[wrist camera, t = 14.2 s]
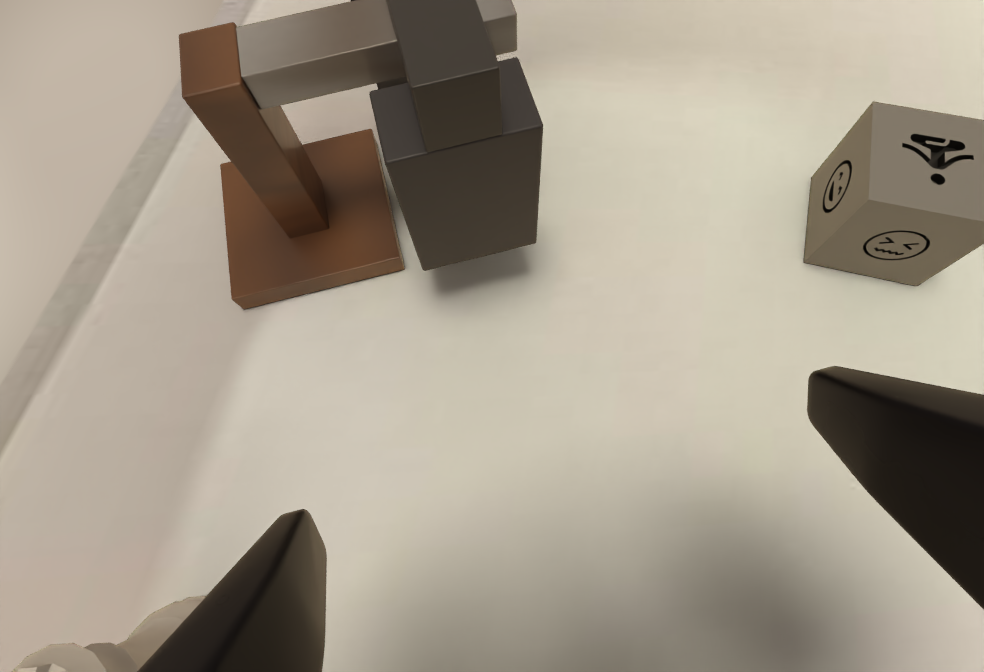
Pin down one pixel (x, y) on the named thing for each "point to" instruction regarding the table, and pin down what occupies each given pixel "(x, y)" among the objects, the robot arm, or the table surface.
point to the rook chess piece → (113, 646)
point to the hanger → (303, 168)
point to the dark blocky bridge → (458, 135)
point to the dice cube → (899, 195)
